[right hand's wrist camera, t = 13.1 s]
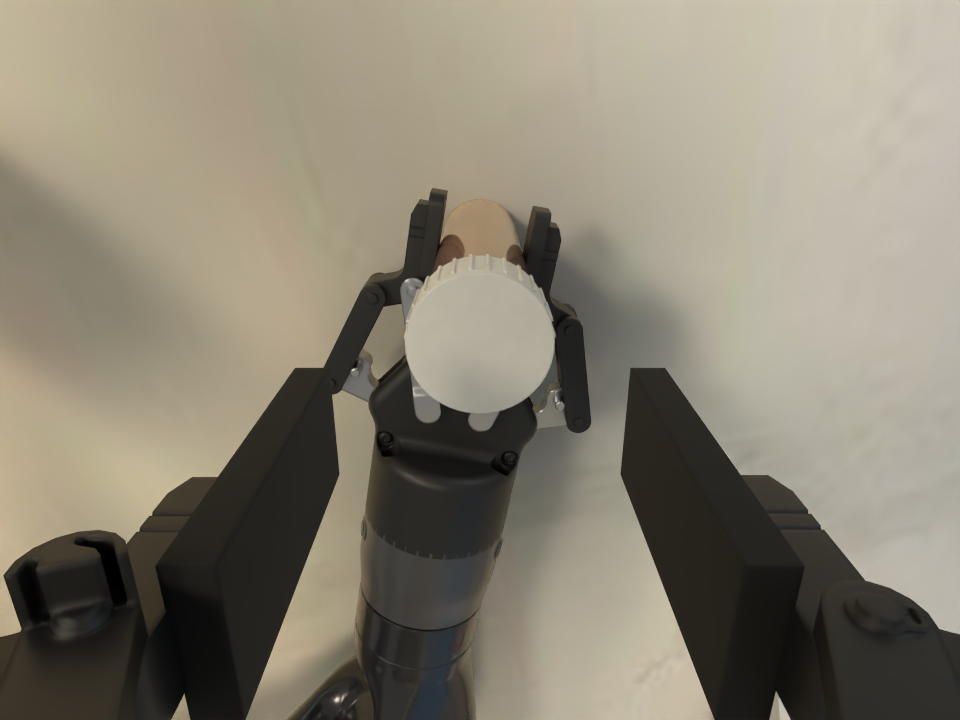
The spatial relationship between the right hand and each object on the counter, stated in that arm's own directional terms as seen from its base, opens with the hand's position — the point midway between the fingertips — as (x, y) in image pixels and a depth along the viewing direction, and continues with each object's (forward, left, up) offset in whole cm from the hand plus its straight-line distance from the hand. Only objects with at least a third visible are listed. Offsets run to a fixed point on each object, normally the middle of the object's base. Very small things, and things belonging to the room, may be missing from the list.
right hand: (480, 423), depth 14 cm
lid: (0, 0, -5) cm, 5 cm away
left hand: (-1, +2, -16) cm, 16 cm away
